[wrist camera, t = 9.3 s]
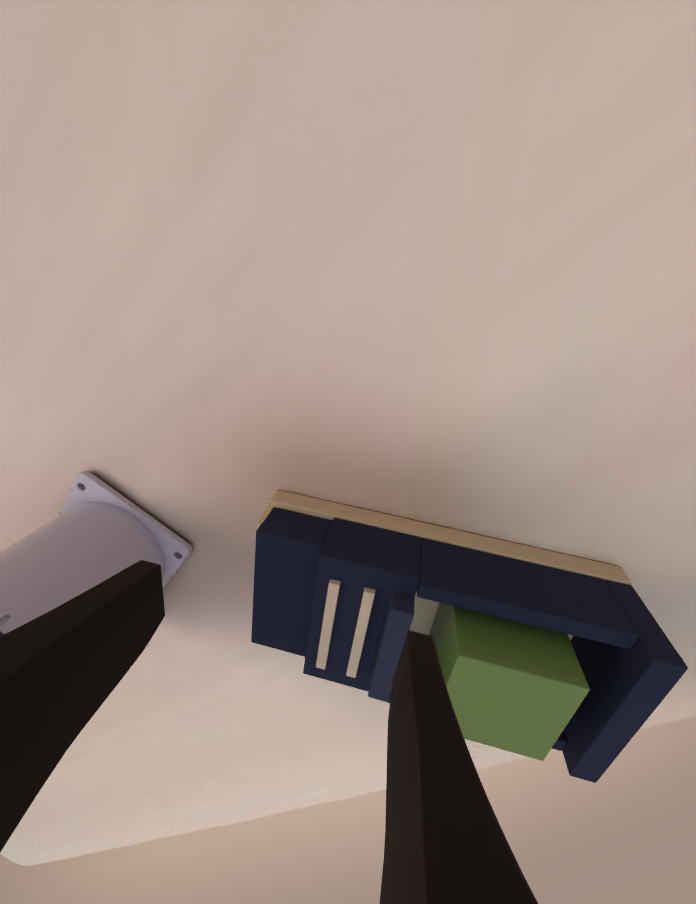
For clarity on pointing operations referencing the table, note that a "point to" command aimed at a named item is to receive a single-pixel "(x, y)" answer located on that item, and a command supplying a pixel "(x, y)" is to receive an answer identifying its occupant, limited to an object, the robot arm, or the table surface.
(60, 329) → the table surface
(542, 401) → the table surface
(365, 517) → the navy slotted organizer
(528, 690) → the green cube
